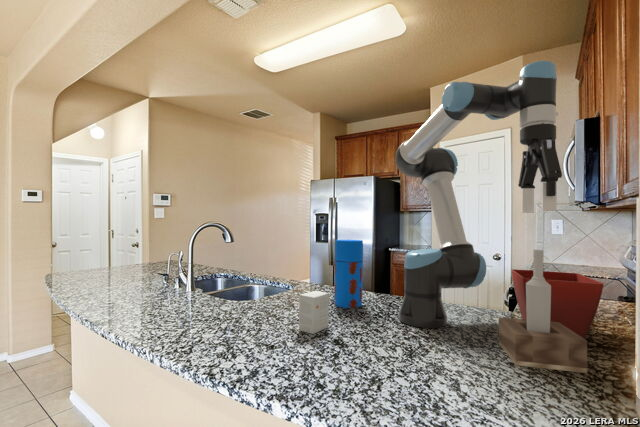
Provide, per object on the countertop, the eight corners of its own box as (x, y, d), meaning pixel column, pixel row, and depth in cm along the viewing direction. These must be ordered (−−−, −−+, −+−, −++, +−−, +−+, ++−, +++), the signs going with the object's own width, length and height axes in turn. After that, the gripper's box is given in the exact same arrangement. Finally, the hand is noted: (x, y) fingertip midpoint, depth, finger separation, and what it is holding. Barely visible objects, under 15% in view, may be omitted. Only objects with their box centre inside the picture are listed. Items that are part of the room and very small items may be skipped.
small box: (314, 323, 104) (314, 290, 104) (329, 327, 101) (329, 292, 101) (298, 330, 97) (298, 294, 98) (313, 334, 94) (314, 297, 94)
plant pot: (605, 346, 89) (605, 282, 89) (523, 336, 95) (523, 277, 96) (578, 325, 106) (577, 272, 107) (510, 318, 113) (510, 269, 113)
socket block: (515, 365, 76) (515, 334, 76) (498, 343, 89) (498, 317, 89) (587, 373, 72) (587, 340, 72) (558, 349, 86) (558, 322, 86)
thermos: (332, 301, 134) (333, 239, 134) (358, 300, 135) (359, 239, 135) (336, 308, 123) (337, 241, 123) (365, 307, 124) (365, 241, 125)
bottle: (555, 357, 78) (555, 251, 78) (531, 355, 79) (531, 250, 79) (545, 349, 83) (545, 249, 83) (522, 347, 84) (522, 248, 84)
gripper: (581, 109, 69) (581, 210, 69) (535, 138, 93) (535, 213, 93) (540, 111, 71) (540, 210, 71) (506, 139, 95) (505, 213, 95)
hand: (537, 212), depth 82 cm, fingers open, 13 cm apart
